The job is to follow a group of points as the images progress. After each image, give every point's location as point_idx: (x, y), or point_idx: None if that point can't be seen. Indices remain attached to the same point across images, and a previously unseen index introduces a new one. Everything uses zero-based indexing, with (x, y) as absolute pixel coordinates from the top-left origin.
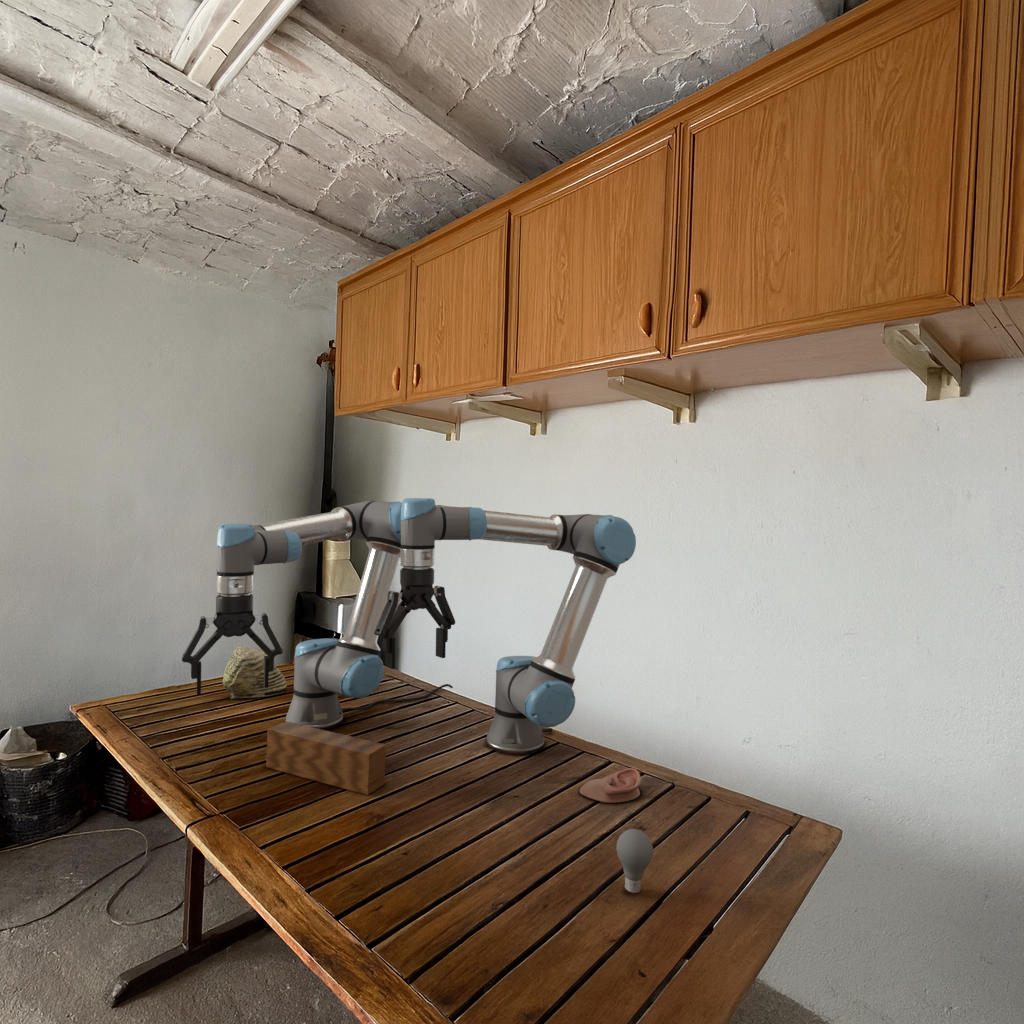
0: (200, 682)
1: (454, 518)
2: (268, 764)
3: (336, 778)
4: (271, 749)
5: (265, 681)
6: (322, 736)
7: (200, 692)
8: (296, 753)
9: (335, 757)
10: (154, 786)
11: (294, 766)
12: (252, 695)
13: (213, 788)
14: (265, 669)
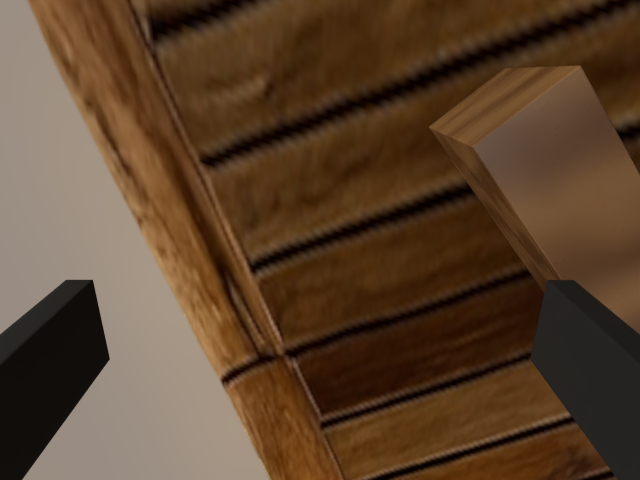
0: (58, 426)
1: None
2: (437, 136)
3: None
4: (459, 154)
5: (558, 390)
6: (636, 298)
7: (100, 369)
8: (523, 245)
9: None
10: (108, 148)
11: (500, 223)
12: None
13: (270, 222)
14: (620, 476)
